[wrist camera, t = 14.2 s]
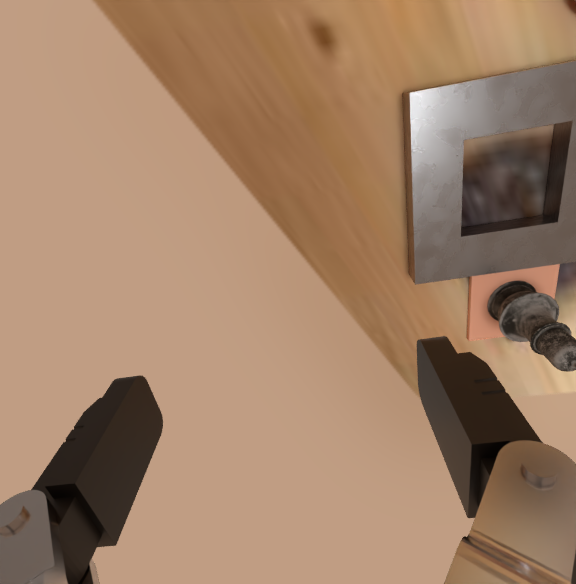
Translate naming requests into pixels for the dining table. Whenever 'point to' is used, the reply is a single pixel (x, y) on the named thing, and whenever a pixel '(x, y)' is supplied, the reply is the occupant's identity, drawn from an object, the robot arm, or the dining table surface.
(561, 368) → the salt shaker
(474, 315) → the tile
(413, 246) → the grey square frame
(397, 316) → the dining table surface
